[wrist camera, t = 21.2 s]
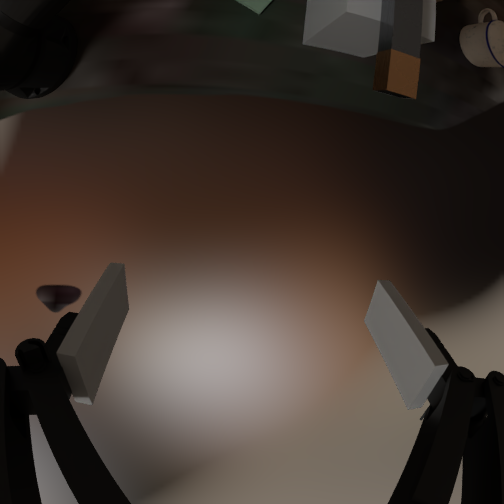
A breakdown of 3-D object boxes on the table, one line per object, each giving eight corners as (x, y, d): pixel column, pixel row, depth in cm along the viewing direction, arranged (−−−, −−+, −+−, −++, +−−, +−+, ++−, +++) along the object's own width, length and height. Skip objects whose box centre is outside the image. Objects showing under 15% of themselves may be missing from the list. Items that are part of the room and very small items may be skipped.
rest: (363, 57, 42) (434, 41, 24) (302, 44, 41) (346, 11, 23) (368, -5, 37) (434, -44, 19) (309, -20, 36) (351, -77, 18)
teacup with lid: (491, 72, 42) (532, 75, 31) (459, 62, 42) (500, 62, 31) (486, 18, 36) (525, 13, 26) (453, 5, 36) (492, -4, 26)
